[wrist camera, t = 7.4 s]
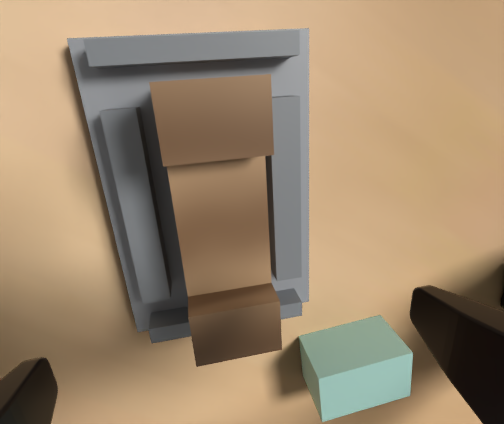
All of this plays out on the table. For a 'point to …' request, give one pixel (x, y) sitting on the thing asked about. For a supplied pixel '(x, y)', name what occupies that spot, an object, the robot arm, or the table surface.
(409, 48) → the table surface
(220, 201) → the tan flanged beam
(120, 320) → the table surface
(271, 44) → the jig
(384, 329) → the pale teal rectangular block
